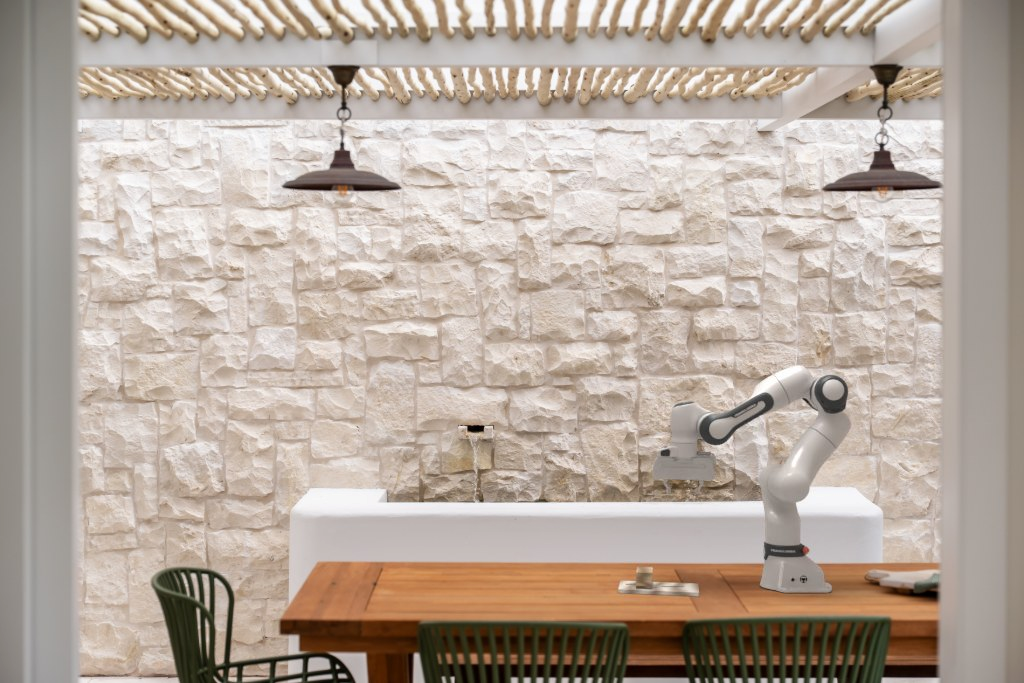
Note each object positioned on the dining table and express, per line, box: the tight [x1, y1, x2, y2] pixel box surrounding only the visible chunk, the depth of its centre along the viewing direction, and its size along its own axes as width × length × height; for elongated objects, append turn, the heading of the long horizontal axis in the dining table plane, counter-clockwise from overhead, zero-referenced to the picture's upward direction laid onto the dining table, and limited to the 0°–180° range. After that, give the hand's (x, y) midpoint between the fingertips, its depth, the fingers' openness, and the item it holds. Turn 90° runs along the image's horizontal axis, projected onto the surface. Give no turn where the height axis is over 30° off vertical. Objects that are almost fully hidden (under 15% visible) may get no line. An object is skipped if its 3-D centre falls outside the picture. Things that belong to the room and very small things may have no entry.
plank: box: [617, 579, 700, 597], centre depth 352 cm, size 25×13×1 cm, turn 82°
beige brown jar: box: [635, 566, 654, 589], centre depth 352 cm, size 5×9×5 cm, turn 172°
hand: (683, 493), depth 364 cm, fingers open, 8 cm apart
